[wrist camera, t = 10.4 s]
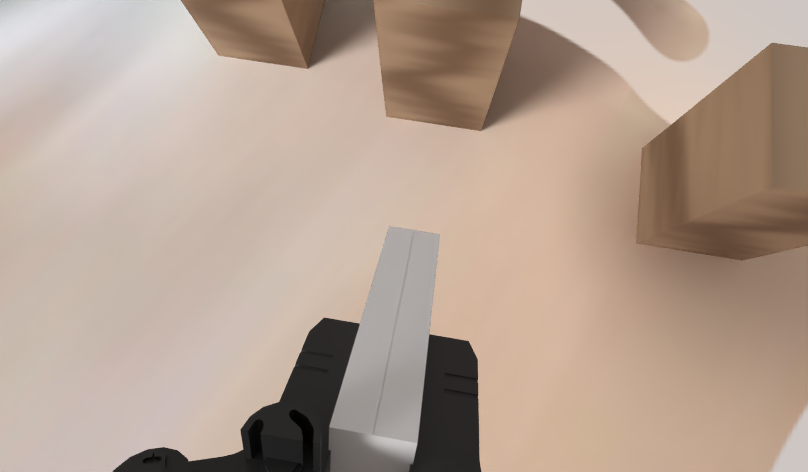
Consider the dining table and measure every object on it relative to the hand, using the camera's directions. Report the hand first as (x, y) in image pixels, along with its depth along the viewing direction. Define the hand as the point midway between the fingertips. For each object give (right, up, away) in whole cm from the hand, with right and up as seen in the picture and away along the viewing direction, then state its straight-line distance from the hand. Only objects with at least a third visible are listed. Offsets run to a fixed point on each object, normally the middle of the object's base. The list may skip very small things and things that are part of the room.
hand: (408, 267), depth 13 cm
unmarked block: (+2, +11, +15) cm, 19 cm away
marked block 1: (+17, +3, +13) cm, 21 cm away
